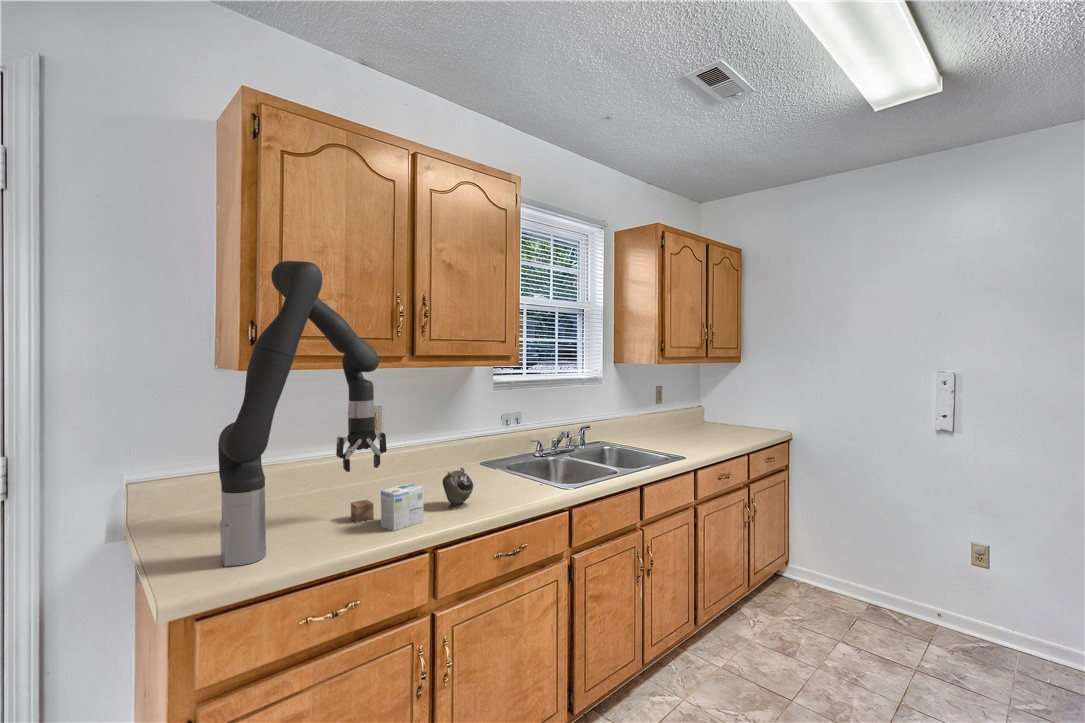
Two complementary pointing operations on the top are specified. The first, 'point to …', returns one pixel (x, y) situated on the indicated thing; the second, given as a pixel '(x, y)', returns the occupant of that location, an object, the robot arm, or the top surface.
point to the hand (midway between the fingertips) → (362, 469)
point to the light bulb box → (401, 506)
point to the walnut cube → (362, 511)
